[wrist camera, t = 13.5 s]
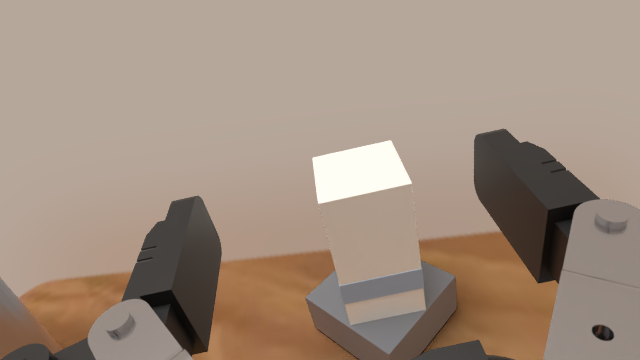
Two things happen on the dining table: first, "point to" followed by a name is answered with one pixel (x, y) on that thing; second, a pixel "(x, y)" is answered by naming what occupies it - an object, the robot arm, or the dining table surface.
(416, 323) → the block
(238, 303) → the dining table surface
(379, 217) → the milk carton
